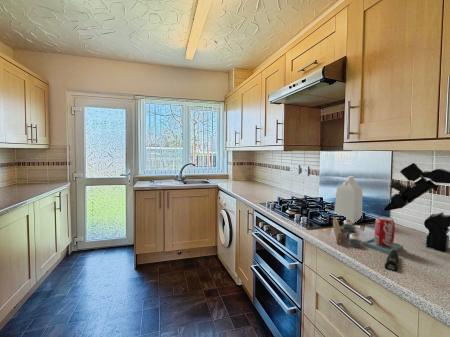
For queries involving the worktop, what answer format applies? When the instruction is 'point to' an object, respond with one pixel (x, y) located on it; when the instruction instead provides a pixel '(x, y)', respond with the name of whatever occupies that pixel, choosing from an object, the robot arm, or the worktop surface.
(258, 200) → the worktop surface
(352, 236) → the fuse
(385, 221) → the soda can
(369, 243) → the tray
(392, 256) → the electric trimmer
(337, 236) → the clip rack
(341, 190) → the milk
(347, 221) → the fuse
